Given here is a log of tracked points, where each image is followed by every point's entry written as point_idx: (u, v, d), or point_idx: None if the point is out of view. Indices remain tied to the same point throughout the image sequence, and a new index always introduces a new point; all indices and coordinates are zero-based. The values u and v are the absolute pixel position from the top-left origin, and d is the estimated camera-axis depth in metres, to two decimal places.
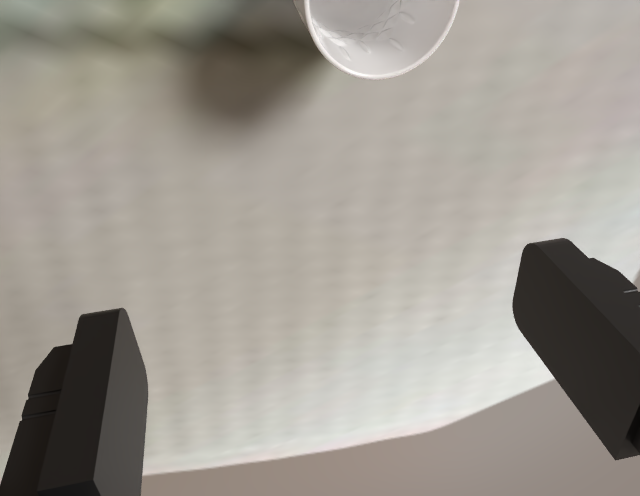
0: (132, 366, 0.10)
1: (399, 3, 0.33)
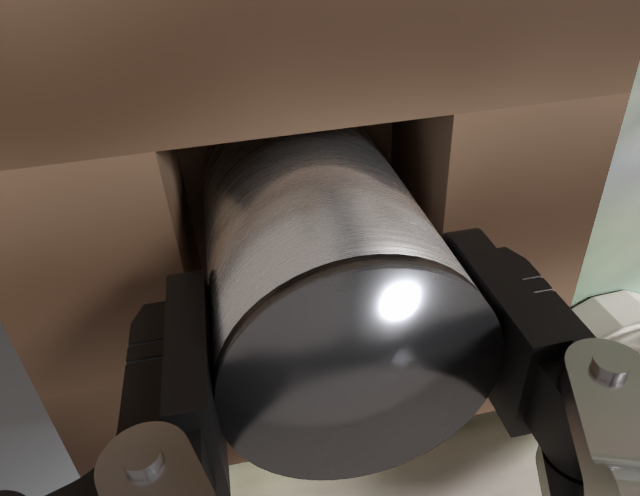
0: None
1: None
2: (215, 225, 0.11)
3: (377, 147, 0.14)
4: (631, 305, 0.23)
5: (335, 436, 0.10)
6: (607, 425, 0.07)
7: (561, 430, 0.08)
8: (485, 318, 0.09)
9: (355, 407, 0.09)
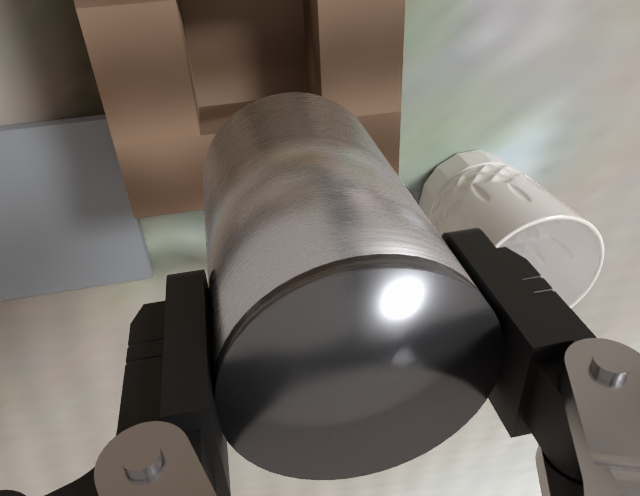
0: None
1: (525, 234, 0.37)
2: (215, 225, 0.11)
3: (377, 147, 0.14)
4: (479, 156, 0.36)
5: (335, 437, 0.10)
6: (607, 425, 0.07)
7: (560, 430, 0.08)
8: (485, 318, 0.09)
9: (355, 407, 0.09)
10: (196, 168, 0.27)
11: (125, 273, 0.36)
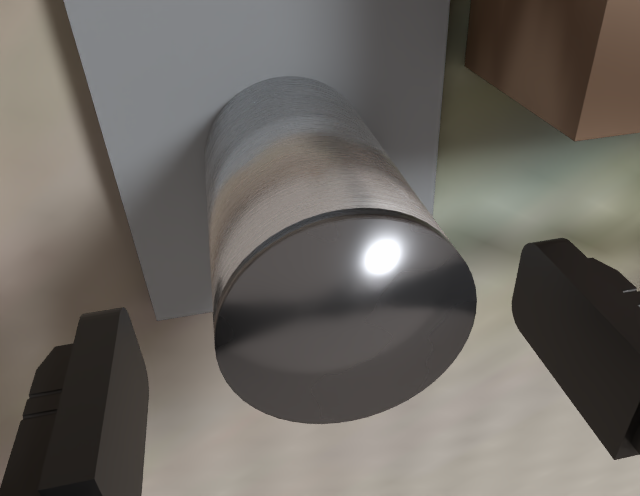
0: (133, 366, 0.10)
1: None
2: (216, 193, 0.12)
3: None
4: None
5: (324, 380, 0.11)
6: None
7: None
8: (458, 269, 0.10)
9: (342, 352, 0.10)
10: None
11: None
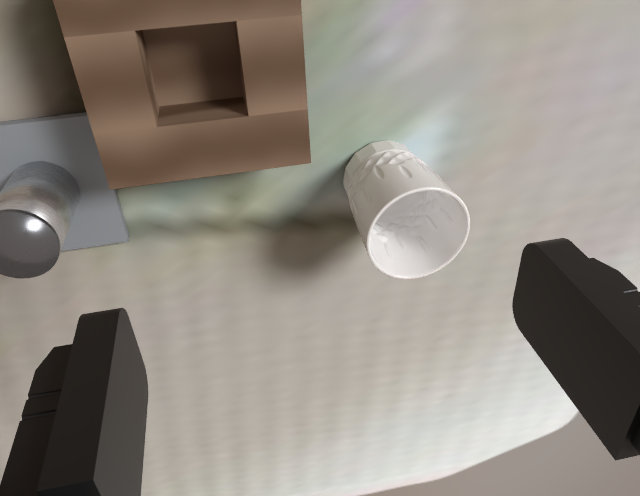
0: (132, 367, 0.10)
1: (425, 207, 0.46)
2: None
3: (64, 181, 0.40)
4: (386, 144, 0.45)
5: (13, 261, 0.36)
6: None
7: None
8: (45, 227, 0.35)
9: (16, 252, 0.35)
10: (155, 151, 0.36)
11: (107, 237, 0.45)
